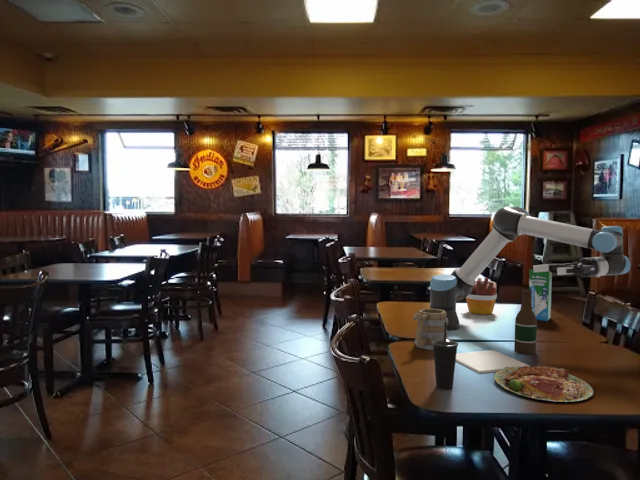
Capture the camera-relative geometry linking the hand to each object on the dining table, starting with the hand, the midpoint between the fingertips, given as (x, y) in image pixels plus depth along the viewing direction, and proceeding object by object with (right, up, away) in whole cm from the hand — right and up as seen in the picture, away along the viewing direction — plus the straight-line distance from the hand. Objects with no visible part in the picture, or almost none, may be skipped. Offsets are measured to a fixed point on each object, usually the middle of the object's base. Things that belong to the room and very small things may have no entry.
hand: (545, 270), depth 194 cm
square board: (-27, -32, -15) cm, 44 cm away
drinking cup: (-49, -33, -40) cm, 71 cm away
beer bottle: (-8, -31, -1) cm, 32 cm away
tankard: (-45, -31, +4) cm, 54 cm away
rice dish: (-18, -34, -39) cm, 55 cm away
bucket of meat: (-2, -27, +72) cm, 77 cm away
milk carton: (+23, -28, +59) cm, 69 cm away
